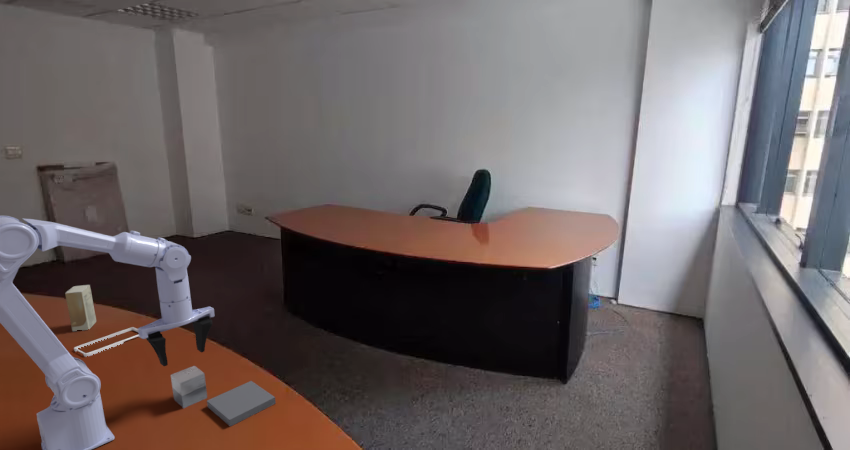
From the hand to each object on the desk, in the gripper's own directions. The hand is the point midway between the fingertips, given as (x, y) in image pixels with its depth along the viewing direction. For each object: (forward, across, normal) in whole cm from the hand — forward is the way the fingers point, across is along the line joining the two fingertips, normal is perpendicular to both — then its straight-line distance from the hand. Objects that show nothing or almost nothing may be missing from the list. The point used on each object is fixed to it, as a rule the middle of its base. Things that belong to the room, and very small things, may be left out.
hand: (183, 357), depth 97 cm
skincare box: (+10, +4, -62) cm, 63 cm away
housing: (+10, 0, +1) cm, 10 cm away
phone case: (+10, +2, -44) cm, 45 cm away
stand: (+9, -6, +12) cm, 17 cm away
